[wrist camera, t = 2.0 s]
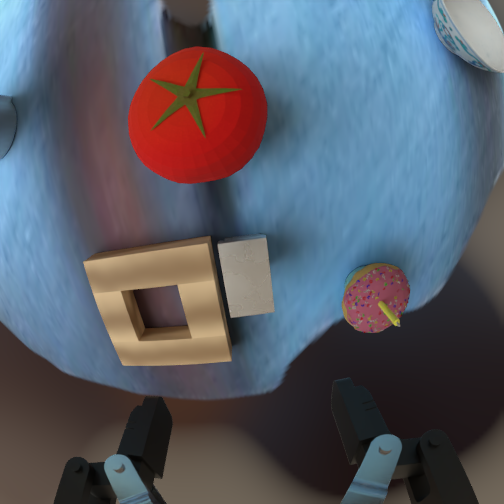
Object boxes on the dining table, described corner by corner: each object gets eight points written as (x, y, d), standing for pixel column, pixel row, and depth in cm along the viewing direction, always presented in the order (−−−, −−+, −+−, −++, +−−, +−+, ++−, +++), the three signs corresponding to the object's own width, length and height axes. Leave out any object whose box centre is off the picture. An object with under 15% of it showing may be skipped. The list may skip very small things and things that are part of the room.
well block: (94, 253, 29) (83, 261, 26) (210, 235, 29) (207, 243, 27) (129, 352, 34) (123, 365, 31) (231, 346, 34) (231, 360, 31)
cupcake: (317, 291, 32) (352, 352, 21) (361, 237, 30) (418, 275, 19) (361, 322, 34) (400, 379, 23) (400, 274, 32) (455, 318, 21)
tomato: (232, 196, 28) (228, 220, 16) (143, 158, 26) (80, 157, 14) (279, 104, 25) (308, 61, 13) (187, 67, 24) (156, 11, 11)
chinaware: (398, -11, 19) (423, -32, 12) (462, 13, 19) (487, 2, 11) (430, 70, 24) (466, 57, 16) (488, 86, 23) (519, 82, 16)
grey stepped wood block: (222, 224, 29) (217, 244, 22) (259, 219, 29) (266, 237, 22) (232, 283, 31) (230, 317, 24) (266, 279, 31) (274, 312, 24)
